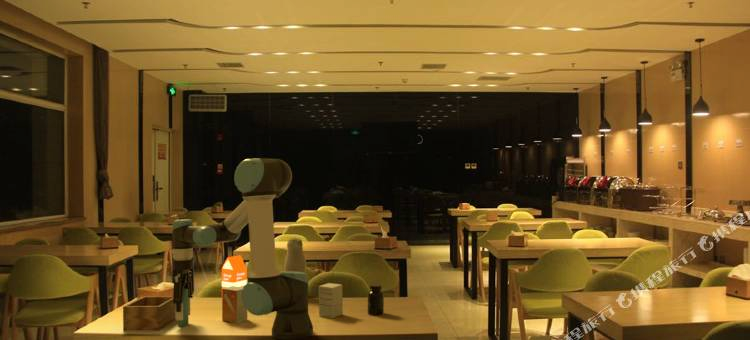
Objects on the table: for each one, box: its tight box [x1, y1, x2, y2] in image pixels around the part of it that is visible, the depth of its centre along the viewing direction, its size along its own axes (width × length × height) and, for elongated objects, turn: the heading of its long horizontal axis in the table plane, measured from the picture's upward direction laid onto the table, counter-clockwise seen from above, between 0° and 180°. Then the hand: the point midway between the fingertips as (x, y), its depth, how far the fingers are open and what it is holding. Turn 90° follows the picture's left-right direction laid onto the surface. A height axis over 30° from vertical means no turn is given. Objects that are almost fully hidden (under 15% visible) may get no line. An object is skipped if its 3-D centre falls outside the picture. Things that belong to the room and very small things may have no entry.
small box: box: [221, 286, 248, 324], centre depth 235 cm, size 8×6×13 cm
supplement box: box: [318, 282, 344, 319], centre depth 241 cm, size 7×7×13 cm
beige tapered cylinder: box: [283, 237, 307, 274], centre depth 278 cm, size 10×10×28 cm
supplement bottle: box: [367, 283, 385, 316], centre depth 244 cm, size 7×7×12 cm
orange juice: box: [221, 254, 248, 290], centre depth 275 cm, size 8×9×20 cm
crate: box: [122, 295, 177, 331], centre depth 229 cm, size 14×18×9 cm
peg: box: [177, 289, 189, 328], centre depth 227 cm, size 4×4×14 cm
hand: (183, 317), depth 227 cm, fingers open, 7 cm apart
